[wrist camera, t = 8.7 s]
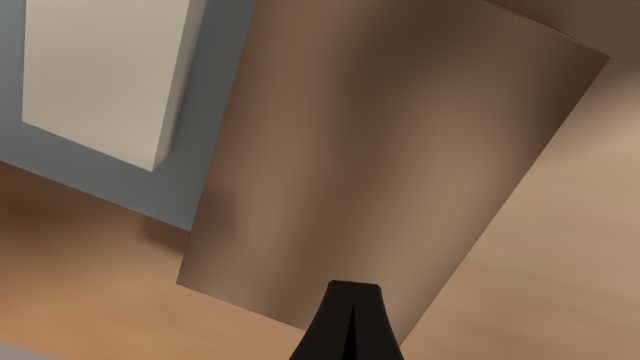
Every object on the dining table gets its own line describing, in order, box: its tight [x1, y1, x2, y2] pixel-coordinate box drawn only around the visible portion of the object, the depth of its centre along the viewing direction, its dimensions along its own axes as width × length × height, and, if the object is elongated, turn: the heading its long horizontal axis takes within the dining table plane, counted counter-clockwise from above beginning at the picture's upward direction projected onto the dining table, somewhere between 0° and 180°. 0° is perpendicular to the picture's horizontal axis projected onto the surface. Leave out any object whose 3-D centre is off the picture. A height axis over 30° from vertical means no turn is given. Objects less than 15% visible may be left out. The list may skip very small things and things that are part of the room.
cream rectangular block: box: [22, 0, 207, 172], centre depth 18 cm, size 6×9×2 cm, turn 158°
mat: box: [0, 0, 256, 232], centre depth 20 cm, size 14×16×1 cm
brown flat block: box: [176, 0, 610, 347], centre depth 19 cm, size 11×16×4 cm
